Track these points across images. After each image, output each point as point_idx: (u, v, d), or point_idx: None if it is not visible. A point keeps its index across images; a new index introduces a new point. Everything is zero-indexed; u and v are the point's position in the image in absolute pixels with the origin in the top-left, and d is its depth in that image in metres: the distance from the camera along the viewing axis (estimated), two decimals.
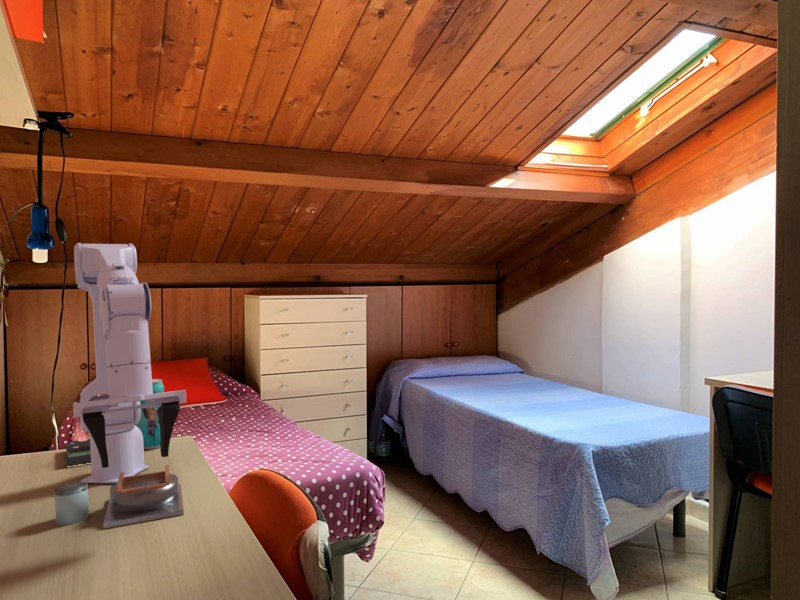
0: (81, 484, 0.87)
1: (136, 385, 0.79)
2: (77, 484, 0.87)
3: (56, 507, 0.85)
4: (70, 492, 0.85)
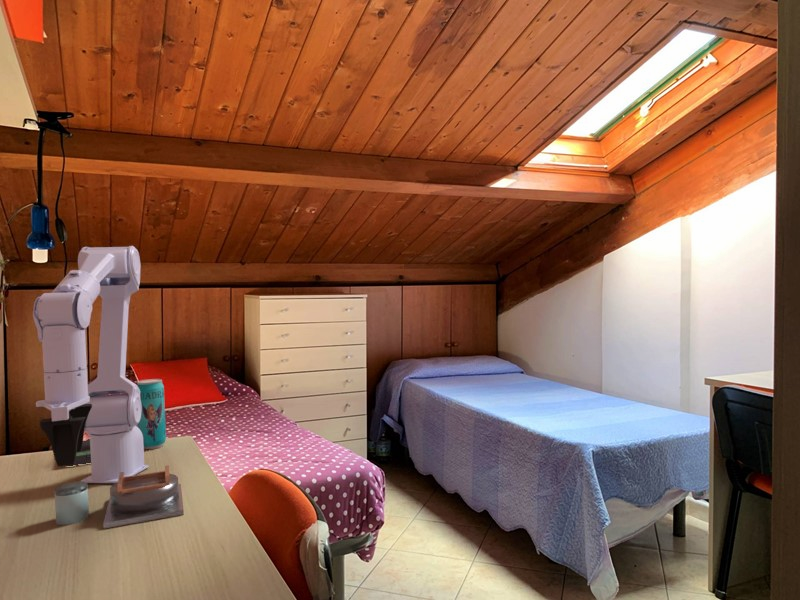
0: (81, 484, 0.87)
1: None
2: (77, 484, 0.87)
3: (56, 507, 0.85)
4: (70, 492, 0.85)
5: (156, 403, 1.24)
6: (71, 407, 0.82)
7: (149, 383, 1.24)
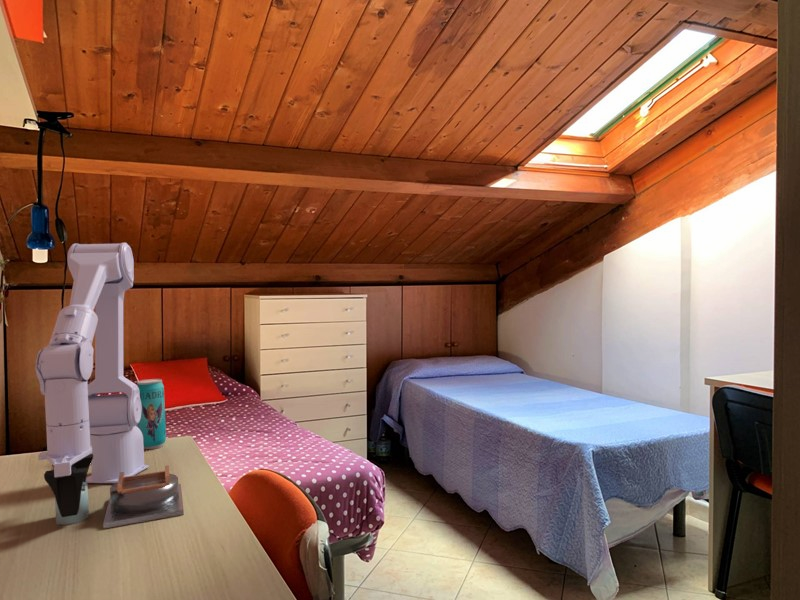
0: None
1: (47, 444, 0.85)
2: None
3: (56, 507, 0.85)
4: None
5: (156, 403, 1.24)
6: (73, 461, 0.82)
7: (149, 383, 1.24)
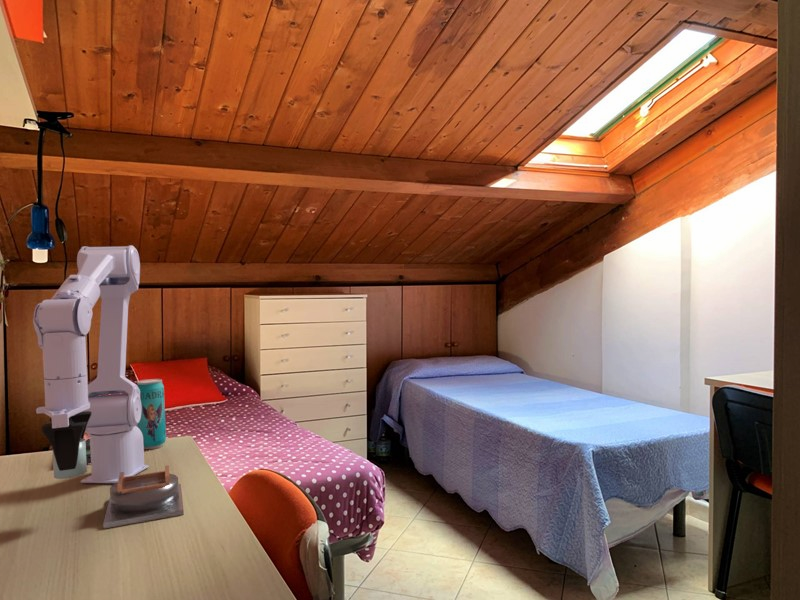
0: None
1: (45, 398, 0.85)
2: None
3: (54, 461, 0.85)
4: None
5: (156, 403, 1.24)
6: (71, 414, 0.82)
7: (149, 383, 1.24)
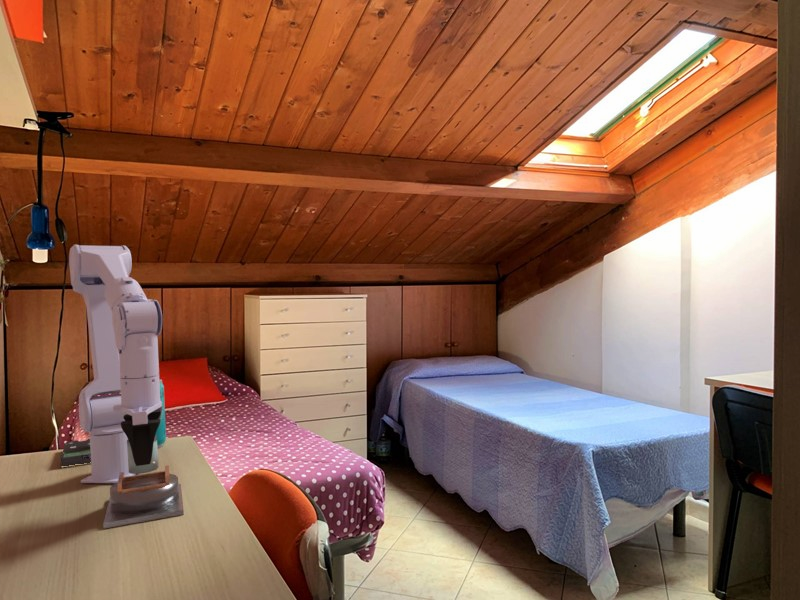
0: None
1: (121, 396, 0.89)
2: None
3: (129, 457, 0.89)
4: None
5: None
6: (149, 411, 0.86)
7: None
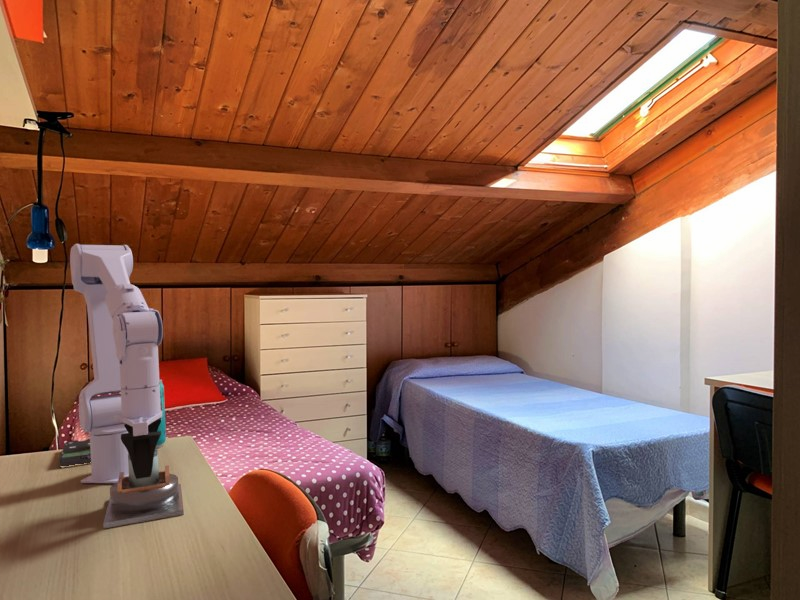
0: None
1: (121, 407, 0.89)
2: None
3: (130, 471, 0.89)
4: None
5: None
6: (149, 422, 0.86)
7: None
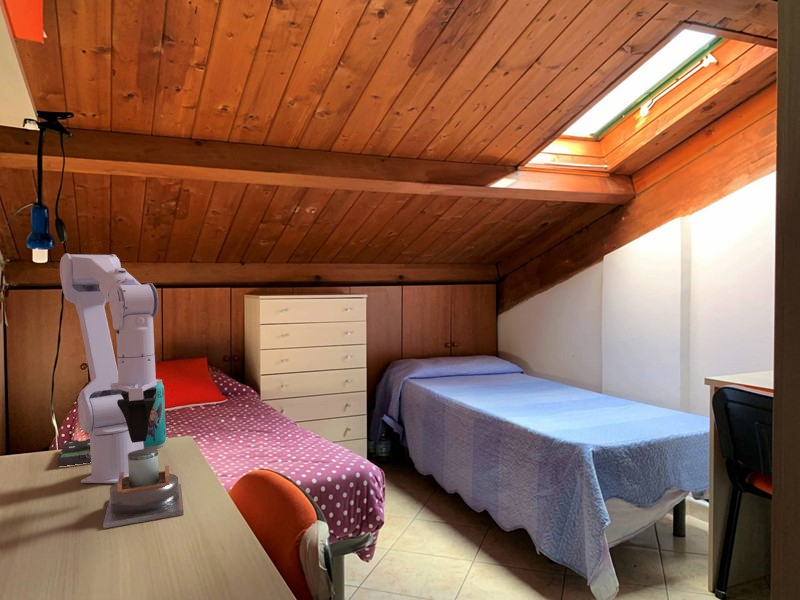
0: (152, 450, 0.91)
1: (118, 375, 0.93)
2: (148, 450, 0.91)
3: (130, 471, 0.89)
4: (143, 457, 0.88)
5: (156, 403, 1.24)
6: (144, 388, 0.90)
7: None
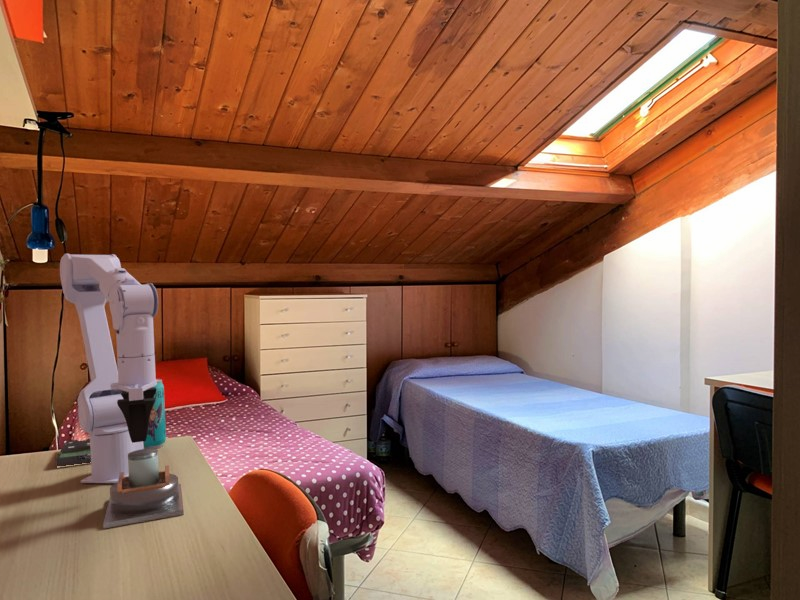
0: (152, 450, 0.91)
1: (118, 375, 0.93)
2: (148, 450, 0.91)
3: (130, 471, 0.89)
4: (143, 457, 0.88)
5: (156, 403, 1.24)
6: (144, 388, 0.90)
7: None
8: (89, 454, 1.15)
